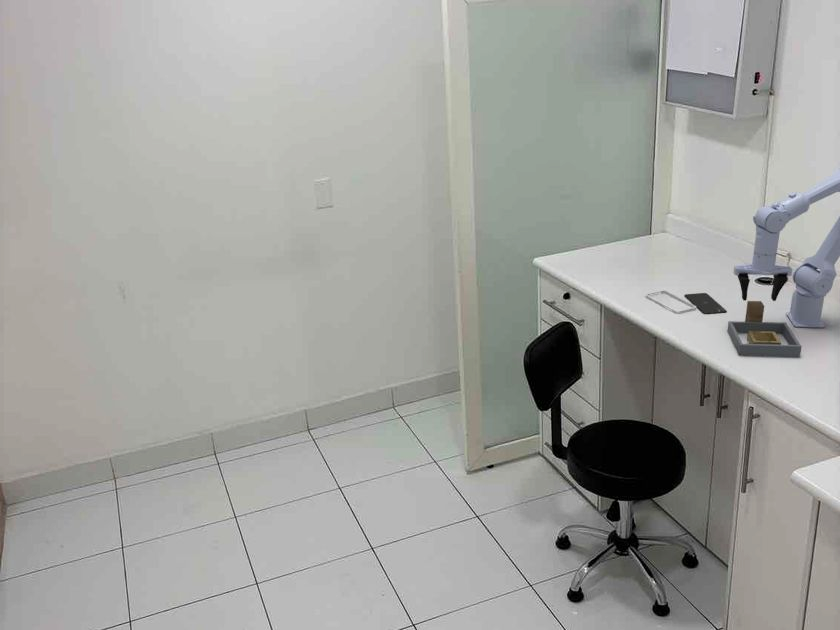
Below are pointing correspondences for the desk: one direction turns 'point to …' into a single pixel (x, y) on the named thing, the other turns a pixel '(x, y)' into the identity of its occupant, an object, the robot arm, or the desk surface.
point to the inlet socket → (763, 338)
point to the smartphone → (705, 303)
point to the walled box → (764, 349)
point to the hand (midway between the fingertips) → (758, 299)
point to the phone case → (676, 299)
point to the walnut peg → (754, 311)
